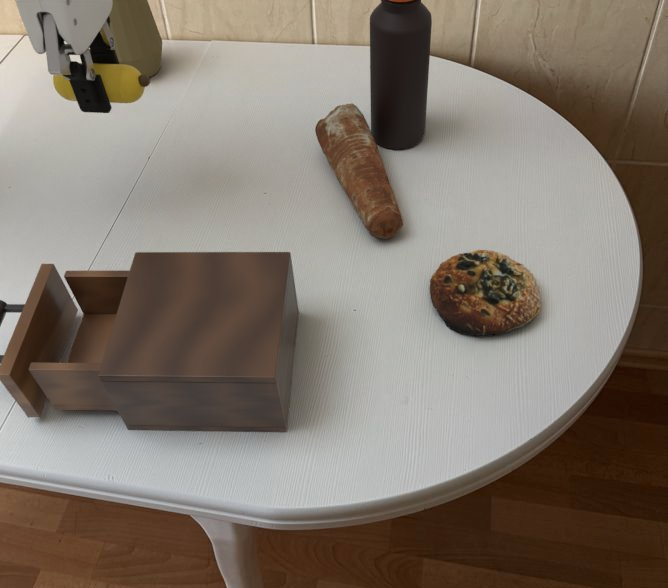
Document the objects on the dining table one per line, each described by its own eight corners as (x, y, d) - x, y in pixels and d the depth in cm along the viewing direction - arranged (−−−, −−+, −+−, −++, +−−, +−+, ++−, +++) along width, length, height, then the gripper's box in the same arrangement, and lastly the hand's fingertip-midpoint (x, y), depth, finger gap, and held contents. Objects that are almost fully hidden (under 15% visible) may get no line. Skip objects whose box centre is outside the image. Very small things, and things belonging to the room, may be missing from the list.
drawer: (-25, 416, 65) (-62, 374, 59) (19, 309, 72) (-10, 263, 67) (172, 419, 63) (153, 376, 58) (196, 310, 71) (181, 263, 66)
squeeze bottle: (176, 56, 102) (143, -79, 88) (156, 88, 97) (117, -49, 83) (125, 52, 103) (84, -82, 89) (102, 83, 99) (55, -53, 84)
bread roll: (418, 328, 69) (424, 290, 65) (437, 260, 76) (443, 222, 73) (532, 353, 67) (545, 314, 63) (540, 280, 74) (552, 242, 71)
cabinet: (127, 429, 64) (97, 375, 57) (158, 311, 72) (135, 251, 66) (286, 432, 63) (275, 377, 56) (298, 311, 71) (290, 251, 65)
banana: (55, 107, 73) (41, 75, 70) (67, 87, 75) (55, 54, 72) (149, 111, 72) (140, 78, 69) (160, 90, 74) (151, 57, 71)
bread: (364, 137, 88) (363, 97, 84) (410, 239, 77) (412, 200, 72) (315, 146, 87) (311, 107, 83) (354, 251, 76) (353, 212, 72)
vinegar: (421, 153, 86) (431, -13, 70) (366, 148, 87) (363, -16, 71) (427, 119, 90) (438, -45, 74) (375, 115, 91) (374, -47, 75)
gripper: (32, -135, 64) (96, 54, 79) (-51, -52, 54) (39, 146, 69) (111, -135, 63) (160, 55, 78) (40, -51, 53) (112, 149, 68)
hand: (103, 96), depth 73 cm, fingers closed on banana, 3 cm apart
